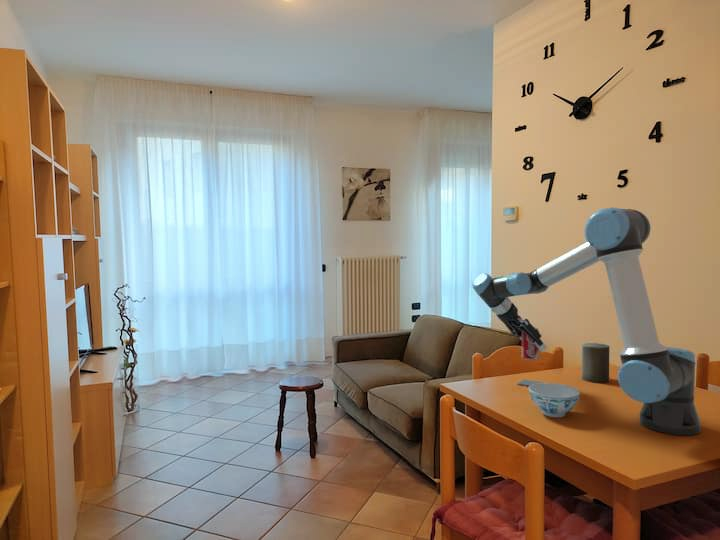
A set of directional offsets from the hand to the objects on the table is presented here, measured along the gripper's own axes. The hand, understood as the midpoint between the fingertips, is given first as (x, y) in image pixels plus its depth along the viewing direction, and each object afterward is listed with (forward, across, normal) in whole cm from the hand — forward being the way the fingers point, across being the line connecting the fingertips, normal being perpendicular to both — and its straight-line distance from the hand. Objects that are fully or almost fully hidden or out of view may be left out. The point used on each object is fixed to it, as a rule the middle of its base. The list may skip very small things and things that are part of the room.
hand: (537, 347), depth 184 cm
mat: (+7, 0, -12) cm, 14 cm away
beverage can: (0, 0, -5) cm, 5 cm away
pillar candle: (+27, +5, +7) cm, 28 cm away
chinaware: (-4, +28, -23) cm, 37 cm away
